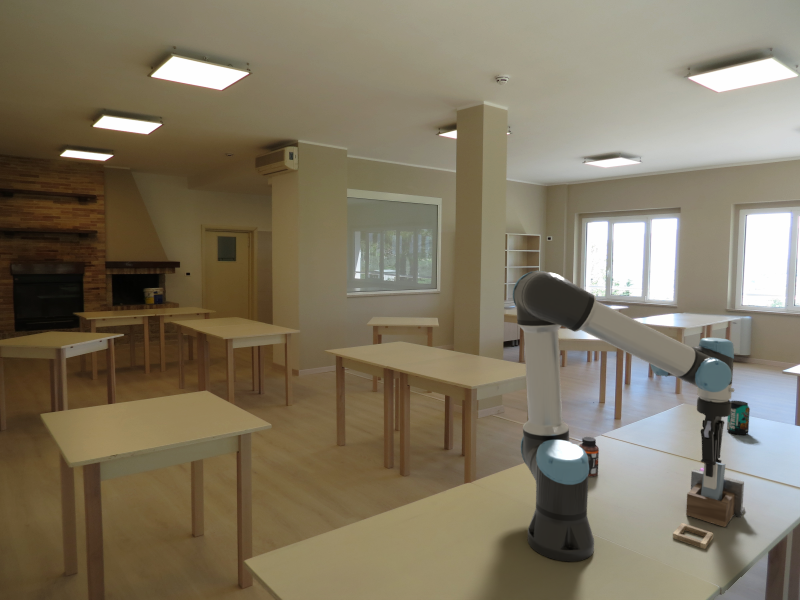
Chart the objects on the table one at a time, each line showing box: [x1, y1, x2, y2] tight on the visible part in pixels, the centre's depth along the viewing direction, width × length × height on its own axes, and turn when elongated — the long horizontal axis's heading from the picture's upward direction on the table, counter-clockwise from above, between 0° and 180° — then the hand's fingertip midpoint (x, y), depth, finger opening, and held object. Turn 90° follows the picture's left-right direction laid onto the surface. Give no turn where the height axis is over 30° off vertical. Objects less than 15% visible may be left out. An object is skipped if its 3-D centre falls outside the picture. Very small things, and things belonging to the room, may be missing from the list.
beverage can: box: [726, 400, 751, 436], centre depth 203 cm, size 7×7×12 cm
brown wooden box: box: [685, 483, 735, 528], centre depth 138 cm, size 9×9×6 cm
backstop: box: [690, 468, 746, 518], centre depth 143 cm, size 5×12×9 cm, turn 46°
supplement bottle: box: [578, 436, 600, 477], centre depth 164 cm, size 6×6×11 cm
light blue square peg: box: [701, 462, 726, 501], centre depth 138 cm, size 4×4×12 cm
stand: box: [672, 522, 714, 550], centre depth 127 cm, size 7×7×1 cm
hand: (709, 486), depth 136 cm, fingers closed
